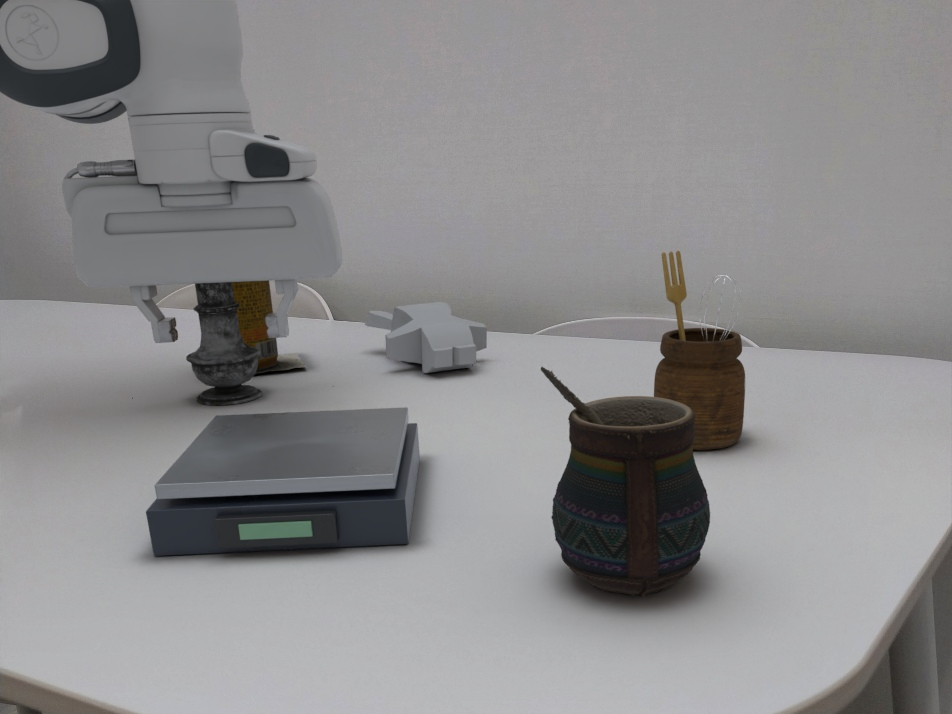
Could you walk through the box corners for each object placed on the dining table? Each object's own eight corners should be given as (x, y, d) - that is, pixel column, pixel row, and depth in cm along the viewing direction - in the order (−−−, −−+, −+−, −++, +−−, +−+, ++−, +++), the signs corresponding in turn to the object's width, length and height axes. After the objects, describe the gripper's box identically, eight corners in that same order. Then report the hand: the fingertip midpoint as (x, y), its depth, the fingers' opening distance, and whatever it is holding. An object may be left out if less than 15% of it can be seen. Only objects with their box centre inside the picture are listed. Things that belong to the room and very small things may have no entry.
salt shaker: (177, 400, 79) (153, 250, 75) (234, 385, 84) (214, 242, 79) (224, 409, 76) (202, 252, 72) (281, 393, 81) (262, 244, 76)
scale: (148, 562, 49) (140, 516, 48) (218, 468, 62) (212, 431, 61) (407, 550, 49) (404, 504, 48) (419, 459, 63) (417, 422, 62)
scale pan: (156, 499, 49) (154, 485, 49) (217, 427, 61) (215, 415, 61) (395, 489, 49) (394, 474, 49) (408, 419, 61) (407, 407, 61)
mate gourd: (727, 605, 42) (740, 381, 39) (556, 616, 42) (552, 390, 38) (687, 541, 49) (694, 345, 45) (538, 550, 49) (533, 352, 45)
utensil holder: (694, 458, 61) (702, 264, 57) (632, 435, 66) (634, 255, 62) (761, 441, 64) (774, 255, 60) (696, 420, 69) (703, 247, 65)
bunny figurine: (402, 336, 81) (352, 292, 93) (404, 394, 83) (355, 343, 95) (506, 324, 84) (445, 283, 96) (505, 380, 87) (445, 333, 99)
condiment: (207, 364, 92) (187, 233, 88) (297, 355, 95) (282, 227, 90) (211, 380, 86) (190, 240, 81) (307, 370, 88) (292, 234, 84)
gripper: (40, 163, 70) (78, 353, 75) (324, 152, 71) (343, 341, 76) (73, 161, 76) (106, 337, 81) (335, 151, 76) (351, 326, 81)
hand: (222, 339), depth 78 cm, fingers open, 8 cm apart
